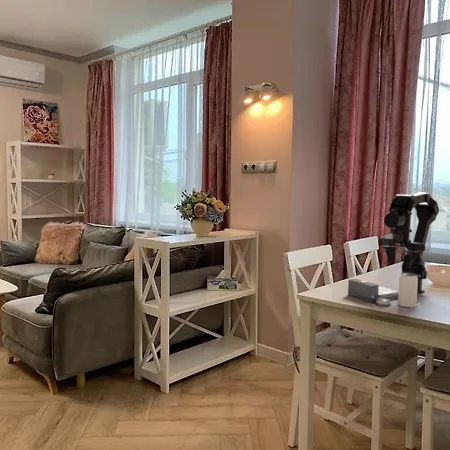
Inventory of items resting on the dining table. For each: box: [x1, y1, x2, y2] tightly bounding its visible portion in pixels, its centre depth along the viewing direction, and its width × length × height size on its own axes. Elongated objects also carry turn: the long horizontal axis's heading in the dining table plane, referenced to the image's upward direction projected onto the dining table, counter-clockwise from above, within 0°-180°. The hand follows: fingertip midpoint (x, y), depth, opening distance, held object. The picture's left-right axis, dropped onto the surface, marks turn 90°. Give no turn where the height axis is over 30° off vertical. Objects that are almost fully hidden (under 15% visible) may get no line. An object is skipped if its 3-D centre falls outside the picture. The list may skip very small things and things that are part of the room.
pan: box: [378, 286, 399, 297], centre depth 188 cm, size 11×11×1 cm
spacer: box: [375, 298, 391, 307], centre depth 175 cm, size 5×5×2 cm
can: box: [397, 272, 418, 309], centre depth 174 cm, size 6×6×12 cm
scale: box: [347, 278, 398, 304], centre depth 187 cm, size 16×13×7 cm
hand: (399, 265), depth 184 cm, fingers open, 9 cm apart
